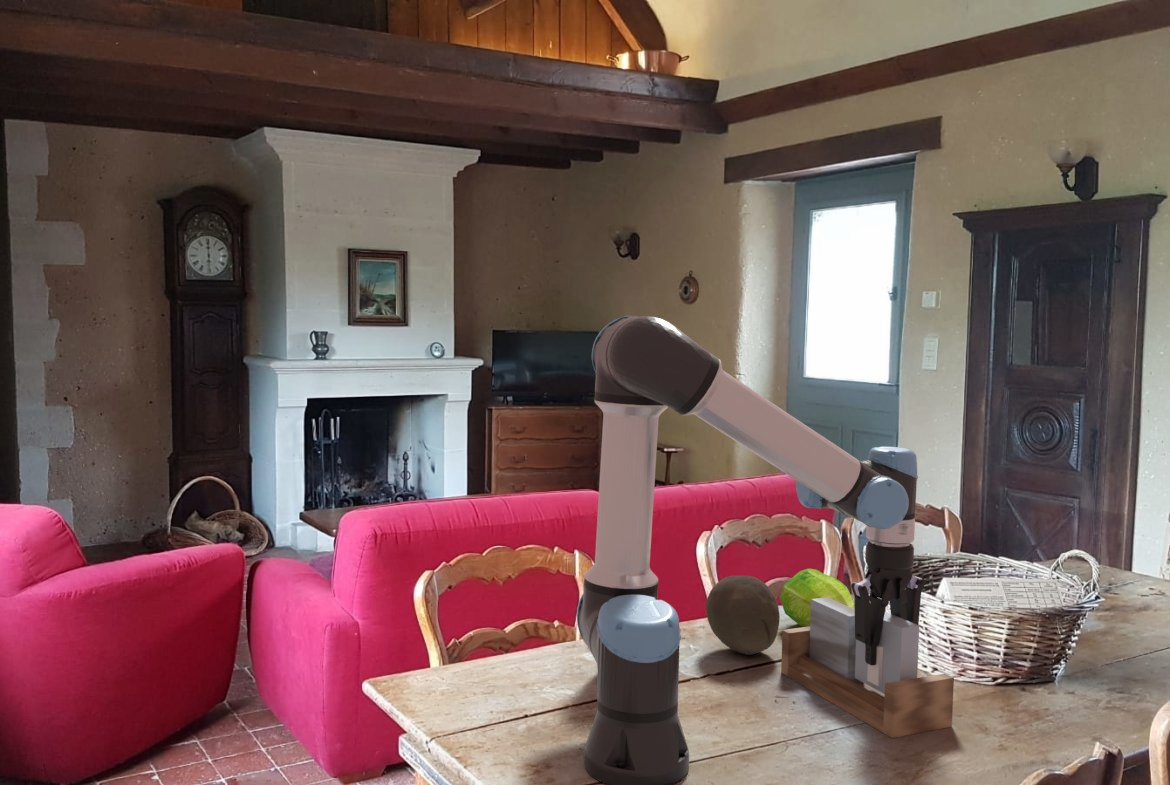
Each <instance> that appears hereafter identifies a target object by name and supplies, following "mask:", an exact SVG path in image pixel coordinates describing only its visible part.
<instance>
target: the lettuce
mask: <svg viewBox="0 0 1170 785" xmlns="http://www.w3.org/2000/svg"><path fill="white" fill-rule="evenodd" d="M781 589H782V590H781V592H780V595H779V599H780V602H781V605H782V610H783V612H784V614H785V615H786V616H788V617H789V618H790V619H791V620H792V621H793V622H795V623H796V624H797V625H799V626H800V628H801V627H809V626H810V614H811V599H816V598H825V597H827V598H830V599H832V600H834V601H837V602H839V603H841V604H844V605H846V606H848V607H850V608H853V609H855V604H854V600H853V598H852V595H851V593H850V591H849V589H848V587H847V586H846V585H845V584H844V583H843V582H842V581H841V580H839V579H837V578H835V577H833V576H830V575H829V574H825V573H823V572H821V571H820V570H818V569H815V568H814V569H813V568H806V569H803V570H800V571H799V572H796V574H795V575H793V576H792V577H791V578H790V579H789V580H787V582H785V583H784V584H783V586H782V588H781Z"/></svg>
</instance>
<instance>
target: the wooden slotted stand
mask: <svg viewBox="0 0 1170 785" xmlns="http://www.w3.org/2000/svg"><path fill="white" fill-rule="evenodd" d="M781 637H782V638H781V665H780V666H781V669H780V673H781V674H783V675H784V676H787V678H789V679H791V680H793V681H795V682H796V683H798V684H800V685H801V686H803V687H805V688H806V689H808V690H810V691H811V692H813V693H814V694H817V695H818V696H820V697H822V698H823V699H825V700H826V701H828V702H830V703H831V704H833V705H835V706H836V707H838V708H840V709H842V710H844V711H845V712H846V713H848V714H850V715H851V716H854V717H855V718H857V719H858V720H860V721H862V722H864V723H865V724H867V725H869V726H870V727H873V728H874V729H875V730H877V731H879V732H881V733H882V734H884V735H886V736H888V737H889V738H891V739H893V738H894V739H895V738H900V737H905V736H910V735H915V734H920V733H925V732H931V731H935V730H941V729H946V728H951V727H953V713H954V712H953V710H954V709H953V708H954V707H953V706H954V684H955V682H954V681H955V679H954V678H955V677H953V676H951V675H949V674H947V673H941V674H940V673H939V674H933V675H929V676H928V675H927V676H922V677H917V678H914V679H908V680H902V681H896V682H890V683H885V694H884V693H882V692H880V691H878V690H876V689H875V688H873V687H871V686H869V685H867V684H865V683H863V682H861V681H860V680H858V679H856V678H855V660H856V639H855V609H853V608H850V607H848V606H846V605H844V604H841V603H839V602H837V601H834V600H832V599H830V598H827V597H825V598H816V599H811V614H810V626H809V627H801V626H800V627H795V628H787V629H782V635H781Z"/></svg>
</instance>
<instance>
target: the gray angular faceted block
mask: <svg viewBox="0 0 1170 785" xmlns="http://www.w3.org/2000/svg"><path fill="white" fill-rule="evenodd" d="M919 638H920V625H919V624H918V625H916V624H914V623H912V622H909V621H907V620H905V619H902V618H900V617H897V616H895V615H893V614H891V612H887V611H886V610H885V614H884V620H883V625H882V631H881V636H880V642H879V645H880V646H883V664H882V686H877V685H875V684H873V683H871V682H869V681H867V673H868V664H867V663H866V661H865V643H863V642H860V641H858V640H856V660H855V678H856V679H858V680H860V681H861V682H863V683H865V684H867V685H869V686H871V687H873V688H875V689H876V690H878V691H880V692H882V693H884V694H885V683H890V682H896V681H902V680H908V679H914V678H918V670H919V668H918V667H919V664H918V663H919V644H920V643H919V642H920V640H919Z"/></svg>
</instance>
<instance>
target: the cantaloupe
mask: <svg viewBox="0 0 1170 785" xmlns="http://www.w3.org/2000/svg"><path fill="white" fill-rule="evenodd" d="M779 608H780V607H779V603H778V601H777V598H776V596H775V593H774V592H773V590H772V589H771V588H770V587H769V586H768V585H767V584H766V583H765V582H763V581H762V580H761V579H759V578H757V577H755V576H752V575H729V576H726V577H724V578H721V579H720V580H719V581H718V582H717V583H716V584H715V585H714V586H713V587H712V588H711V589H710V591H709V593H708V596H707V598H706V602H705V612H706V613H705V614H706V618H707V621H708V625H709V627H710V629H711V631H712V632H713V634H714V635H715V636H716V637H717V638H718V640H719V641H720V642H721V643H722V644H723V645H725V646H726V647H728V648H729V649H731V650H732V651H735V652H737V653H739V654H742V655H748V656H752V655H754V654H758V653H760V652H763V651H765V650H767V649H769V648H770V647H771V646H772V645H773V644H774V642H775V640H776V639H777V636H778V630H779V625H780V610H779Z"/></svg>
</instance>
